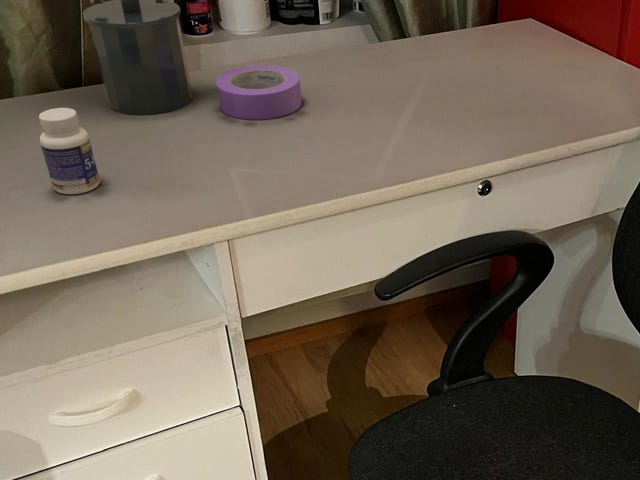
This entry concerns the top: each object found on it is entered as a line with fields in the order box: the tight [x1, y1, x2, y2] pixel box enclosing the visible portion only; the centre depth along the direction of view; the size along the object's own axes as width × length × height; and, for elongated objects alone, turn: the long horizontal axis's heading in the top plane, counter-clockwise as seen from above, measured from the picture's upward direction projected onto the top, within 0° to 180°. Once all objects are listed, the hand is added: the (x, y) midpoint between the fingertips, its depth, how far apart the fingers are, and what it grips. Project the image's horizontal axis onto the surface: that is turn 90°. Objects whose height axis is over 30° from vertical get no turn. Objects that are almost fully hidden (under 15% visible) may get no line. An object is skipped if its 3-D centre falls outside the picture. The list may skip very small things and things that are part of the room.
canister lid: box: [82, 0, 181, 28], centre depth 118 cm, size 13×13×5 cm
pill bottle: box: [38, 107, 101, 195], centre depth 101 cm, size 5×5×9 cm
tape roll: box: [215, 64, 303, 121], centre depth 124 cm, size 12×12×4 cm
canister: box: [87, 16, 193, 116], centre depth 122 cm, size 12×12×12 cm
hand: (130, 2), depth 118 cm, fingers open, 7 cm apart
